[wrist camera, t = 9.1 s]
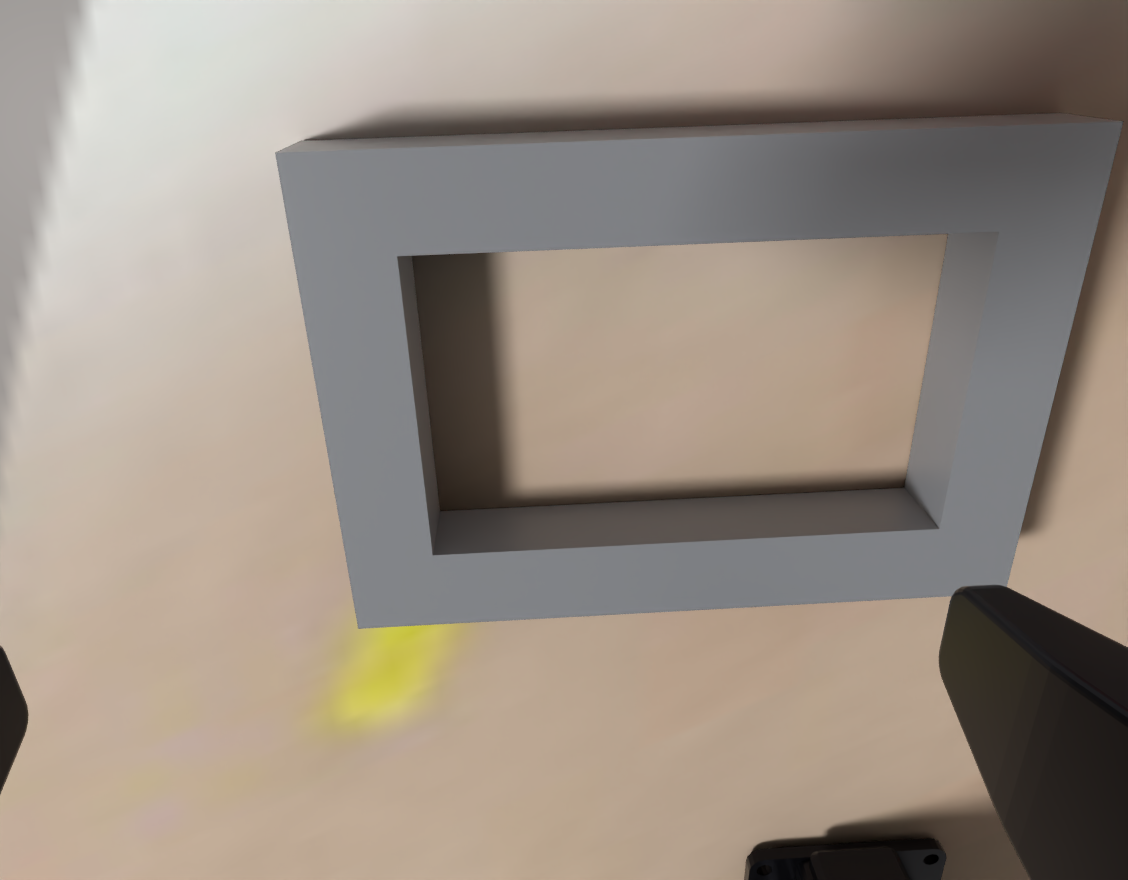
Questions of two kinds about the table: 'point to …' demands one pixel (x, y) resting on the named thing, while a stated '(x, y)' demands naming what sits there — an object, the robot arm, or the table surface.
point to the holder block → (676, 217)
